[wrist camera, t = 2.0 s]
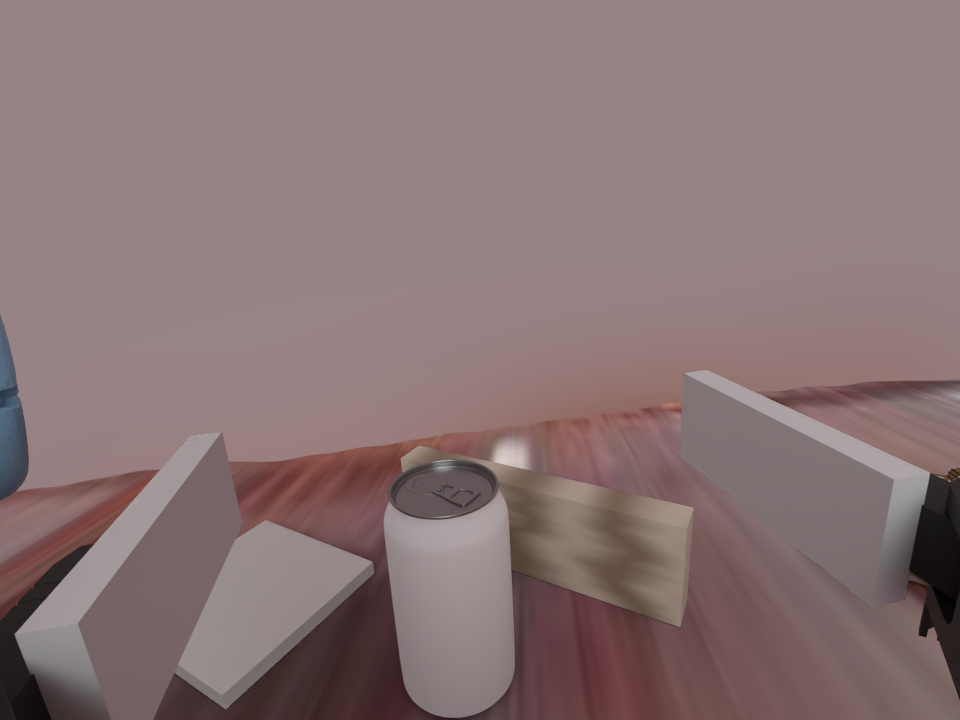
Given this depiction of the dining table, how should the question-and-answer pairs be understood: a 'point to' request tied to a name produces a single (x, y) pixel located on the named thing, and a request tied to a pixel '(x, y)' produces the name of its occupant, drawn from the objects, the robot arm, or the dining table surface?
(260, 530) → the pad
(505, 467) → the beige brown patterned panel
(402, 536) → the can
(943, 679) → the dining table surface
